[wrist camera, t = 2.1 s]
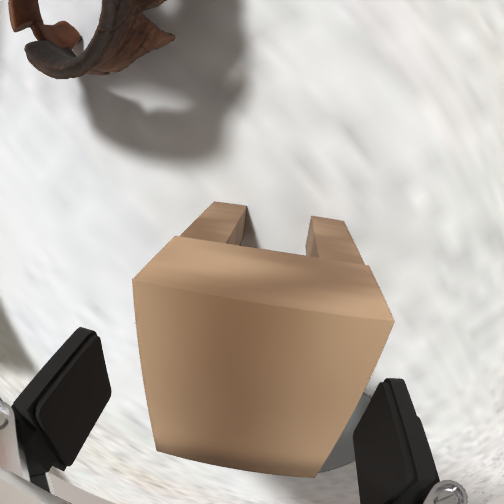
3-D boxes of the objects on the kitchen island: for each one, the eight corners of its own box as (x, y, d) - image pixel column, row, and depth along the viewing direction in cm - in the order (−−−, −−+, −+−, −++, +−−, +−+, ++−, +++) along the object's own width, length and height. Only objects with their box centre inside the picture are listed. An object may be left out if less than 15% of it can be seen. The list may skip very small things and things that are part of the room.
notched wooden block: (345, 219, 14) (394, 320, 6) (312, 350, 17) (314, 477, 9) (213, 199, 14) (132, 279, 7) (204, 332, 17) (156, 450, 10)
